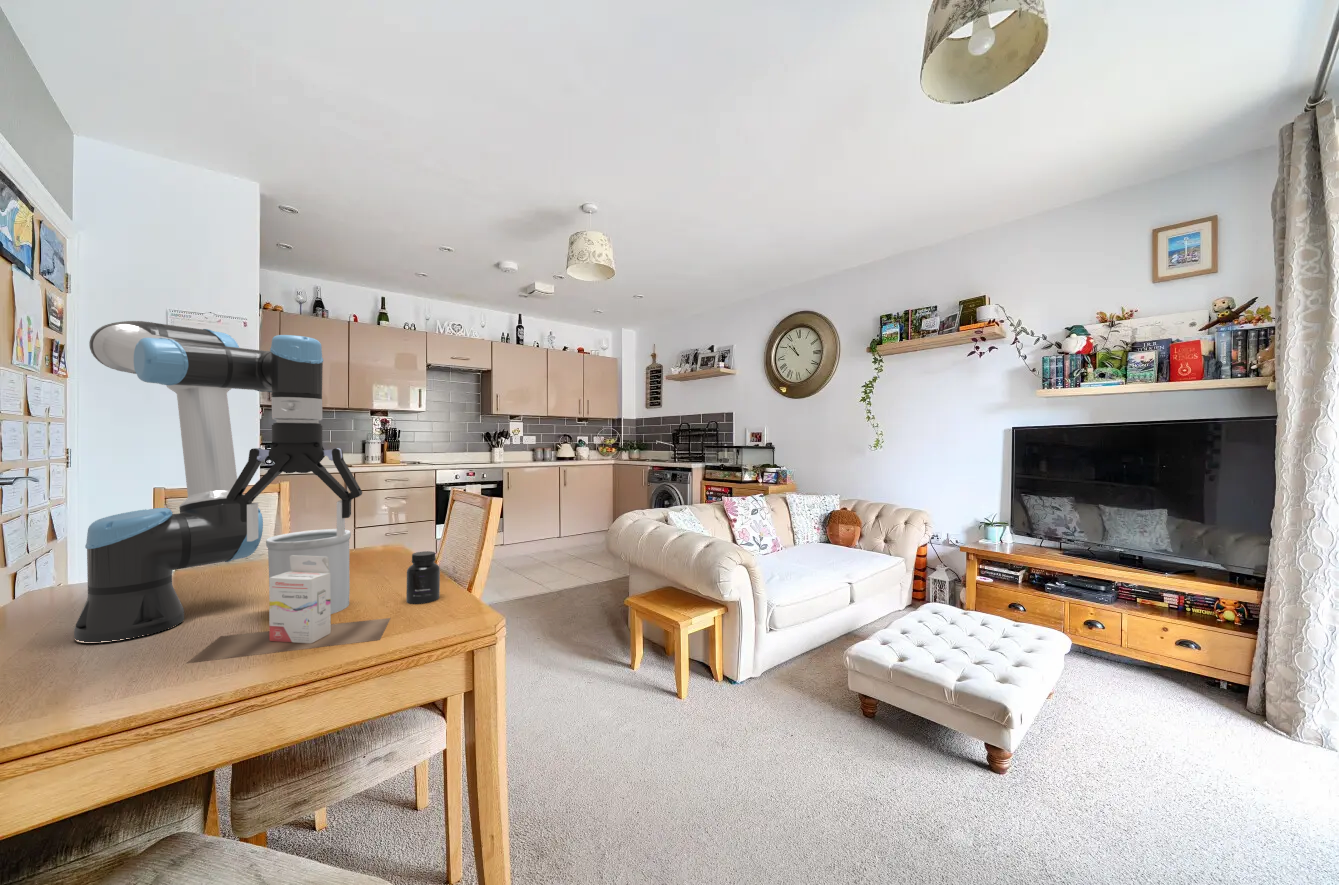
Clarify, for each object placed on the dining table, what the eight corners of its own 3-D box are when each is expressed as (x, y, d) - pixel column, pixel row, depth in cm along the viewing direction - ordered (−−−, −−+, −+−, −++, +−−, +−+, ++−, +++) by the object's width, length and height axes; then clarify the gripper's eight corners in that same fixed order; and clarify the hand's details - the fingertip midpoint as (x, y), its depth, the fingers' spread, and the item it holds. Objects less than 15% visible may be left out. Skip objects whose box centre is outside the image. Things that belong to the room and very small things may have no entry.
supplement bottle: (418, 613, 112) (417, 558, 112) (400, 607, 116) (399, 554, 116) (446, 604, 118) (446, 552, 118) (428, 599, 122) (428, 548, 122)
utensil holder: (249, 623, 106) (249, 538, 106) (321, 601, 120) (320, 526, 120) (298, 633, 101) (297, 544, 101) (367, 609, 115) (366, 530, 115)
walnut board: (186, 672, 84) (185, 663, 84) (220, 644, 95) (220, 636, 95) (379, 648, 94) (379, 639, 94) (390, 625, 105) (390, 617, 105)
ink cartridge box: (267, 642, 93) (266, 560, 92) (290, 631, 98) (289, 554, 97) (311, 644, 92) (310, 562, 92) (332, 633, 97) (331, 555, 97)
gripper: (201, 420, 86) (202, 546, 87) (371, 422, 95) (371, 537, 95) (222, 420, 93) (223, 537, 94) (378, 423, 102) (378, 530, 102)
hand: (297, 537), depth 95 cm, fingers open, 13 cm apart
